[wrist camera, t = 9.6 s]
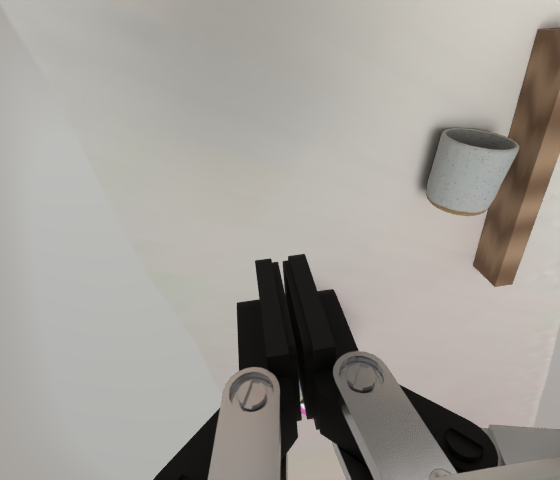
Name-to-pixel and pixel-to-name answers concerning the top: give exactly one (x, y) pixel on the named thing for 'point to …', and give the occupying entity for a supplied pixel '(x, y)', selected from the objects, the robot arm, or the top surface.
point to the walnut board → (525, 164)
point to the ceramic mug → (469, 170)
